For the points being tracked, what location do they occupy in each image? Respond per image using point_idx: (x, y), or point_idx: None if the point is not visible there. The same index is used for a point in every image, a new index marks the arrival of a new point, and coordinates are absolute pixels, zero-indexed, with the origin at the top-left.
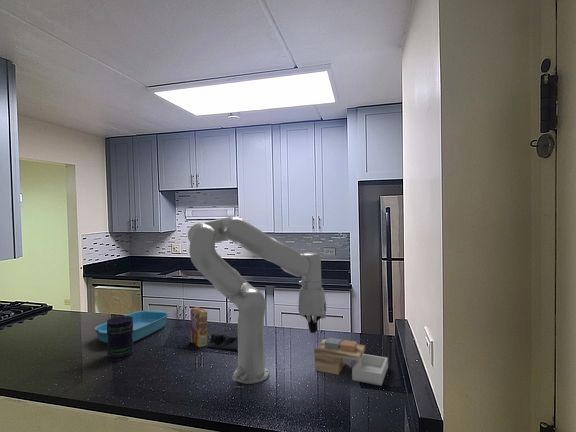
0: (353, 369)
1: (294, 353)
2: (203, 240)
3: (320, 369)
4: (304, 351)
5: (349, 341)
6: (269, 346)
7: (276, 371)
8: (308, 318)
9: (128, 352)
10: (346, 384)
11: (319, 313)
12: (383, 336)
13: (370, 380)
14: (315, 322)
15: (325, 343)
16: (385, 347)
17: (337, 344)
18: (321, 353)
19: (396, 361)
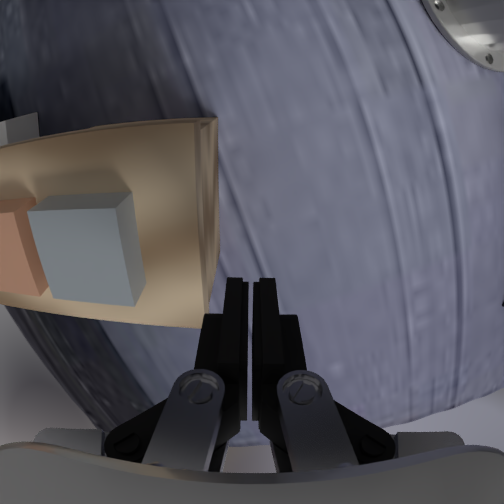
0: (3, 121)
1: (379, 264)
2: None
3: (183, 118)
4: (337, 299)
5: (7, 281)
6: (481, 287)
7: (407, 46)
8: (313, 421)
9: None
10: (46, 65)
11: (14, 482)
12: None
13: None
14: (188, 375)
15: (112, 204)
16: (78, 387)
17: (29, 211)
18: (140, 123)
19: (9, 313)
